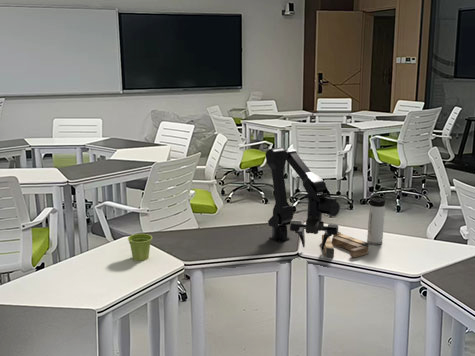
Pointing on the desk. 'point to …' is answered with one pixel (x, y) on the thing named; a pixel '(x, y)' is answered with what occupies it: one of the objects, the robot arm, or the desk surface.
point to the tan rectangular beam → (350, 244)
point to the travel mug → (376, 220)
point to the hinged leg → (328, 247)
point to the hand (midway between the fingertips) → (313, 248)
